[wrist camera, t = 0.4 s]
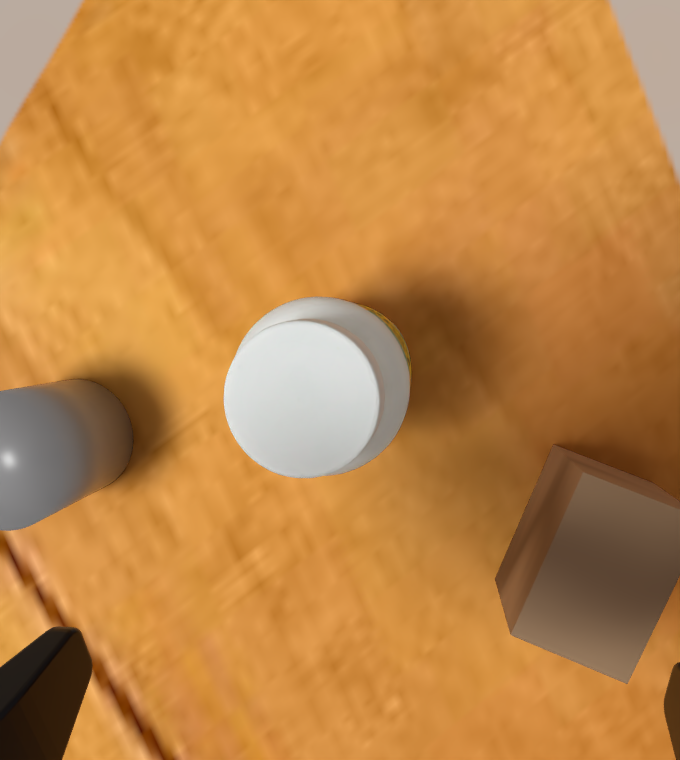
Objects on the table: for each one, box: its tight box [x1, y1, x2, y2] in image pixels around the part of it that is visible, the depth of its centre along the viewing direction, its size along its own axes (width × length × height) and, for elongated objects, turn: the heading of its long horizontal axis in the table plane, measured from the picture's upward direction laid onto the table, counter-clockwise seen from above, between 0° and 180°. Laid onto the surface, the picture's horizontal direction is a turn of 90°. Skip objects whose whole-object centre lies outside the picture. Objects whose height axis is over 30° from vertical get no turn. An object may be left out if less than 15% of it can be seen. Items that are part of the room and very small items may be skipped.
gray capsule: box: [0, 379, 133, 531], centre depth 24 cm, size 5×5×5 cm
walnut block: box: [495, 444, 680, 684], centre depth 21 cm, size 6×4×4 cm, turn 160°
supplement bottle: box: [224, 297, 412, 478], centre depth 19 cm, size 5×5×10 cm
